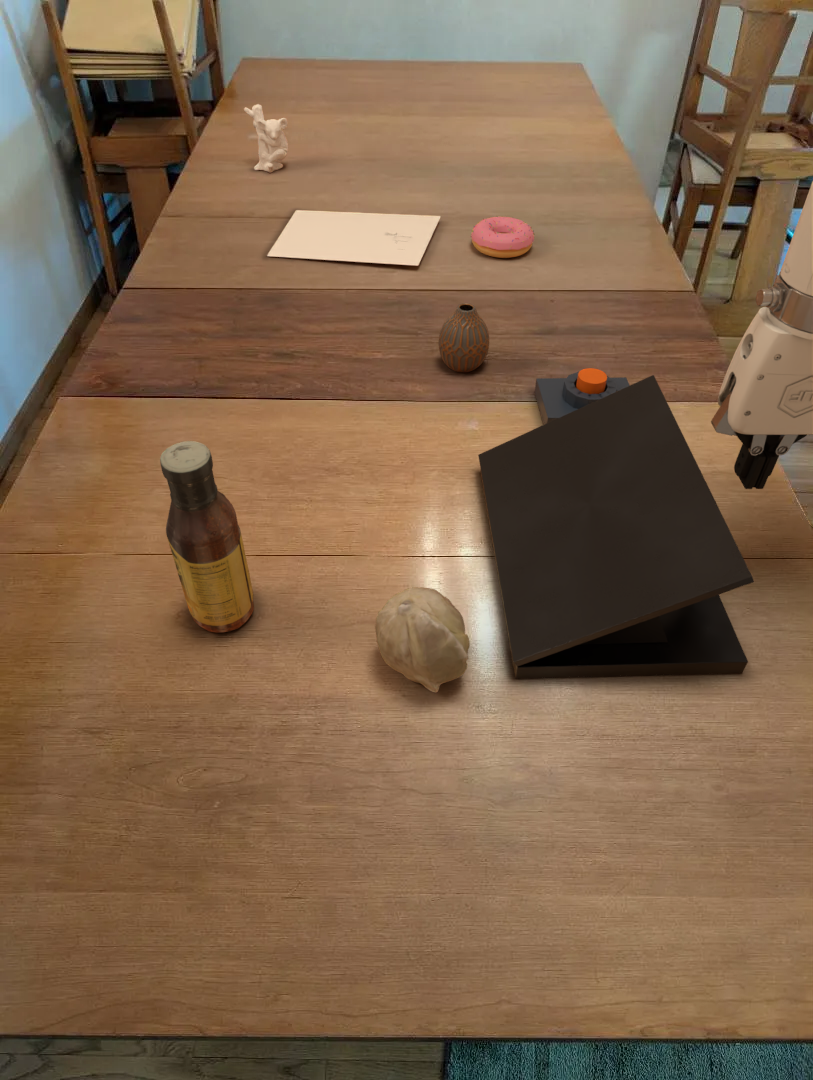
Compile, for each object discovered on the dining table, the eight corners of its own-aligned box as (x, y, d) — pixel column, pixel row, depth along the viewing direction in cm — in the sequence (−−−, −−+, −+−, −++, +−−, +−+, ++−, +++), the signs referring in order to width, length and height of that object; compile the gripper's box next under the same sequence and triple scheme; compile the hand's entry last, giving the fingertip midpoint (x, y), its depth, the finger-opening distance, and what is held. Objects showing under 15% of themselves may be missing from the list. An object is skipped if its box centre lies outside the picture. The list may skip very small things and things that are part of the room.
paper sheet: (413, 277, 130) (413, 270, 129) (252, 258, 136) (251, 252, 135) (449, 221, 146) (449, 215, 145) (303, 207, 152) (302, 201, 152)
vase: (462, 347, 114) (465, 289, 108) (497, 366, 111) (503, 308, 105) (427, 363, 111) (429, 305, 105) (462, 384, 107) (466, 325, 101)
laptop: (655, 469, 94) (659, 456, 93) (742, 673, 73) (748, 661, 71) (480, 471, 94) (481, 459, 92) (515, 679, 72) (517, 666, 71)
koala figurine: (246, 172, 164) (238, 109, 155) (256, 161, 169) (249, 99, 160) (286, 176, 163) (280, 112, 154) (295, 164, 168) (290, 102, 159)
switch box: (623, 391, 106) (629, 365, 104) (639, 431, 100) (646, 404, 97) (534, 392, 106) (538, 366, 103) (545, 432, 100) (549, 405, 97)
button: (601, 379, 102) (603, 367, 101) (607, 395, 99) (610, 383, 98) (573, 379, 102) (575, 368, 101) (579, 395, 99) (581, 383, 98)
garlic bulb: (458, 706, 73) (488, 670, 64) (366, 702, 71) (385, 666, 63) (453, 611, 77) (481, 566, 69) (367, 606, 76) (384, 559, 67)
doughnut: (488, 266, 134) (491, 241, 131) (459, 240, 141) (460, 217, 138) (544, 255, 137) (547, 231, 134) (512, 231, 144) (515, 208, 141)
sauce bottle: (205, 584, 80) (167, 422, 66) (264, 594, 79) (238, 432, 65) (179, 633, 75) (132, 470, 62) (241, 644, 74) (207, 481, 61)
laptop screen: (655, 380, 86) (653, 374, 85) (754, 582, 64) (752, 576, 64) (481, 459, 92) (478, 454, 92) (517, 667, 71) (513, 662, 70)
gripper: (745, 326, 61) (683, 506, 73) (935, 326, 61) (840, 504, 74) (714, 281, 66) (661, 456, 79) (889, 281, 67) (808, 455, 79)
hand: (748, 479), depth 76 cm, fingers closed
